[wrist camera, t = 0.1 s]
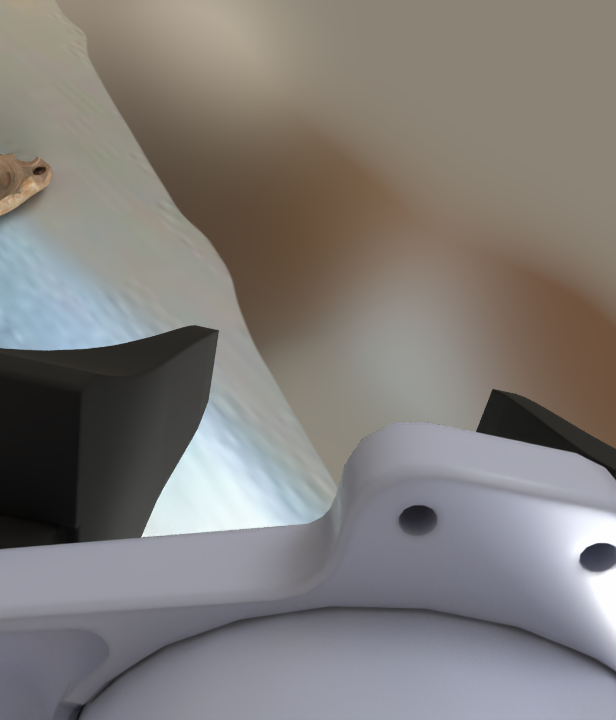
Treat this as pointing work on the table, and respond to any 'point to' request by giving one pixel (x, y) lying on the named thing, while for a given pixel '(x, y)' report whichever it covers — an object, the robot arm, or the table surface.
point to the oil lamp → (21, 180)
